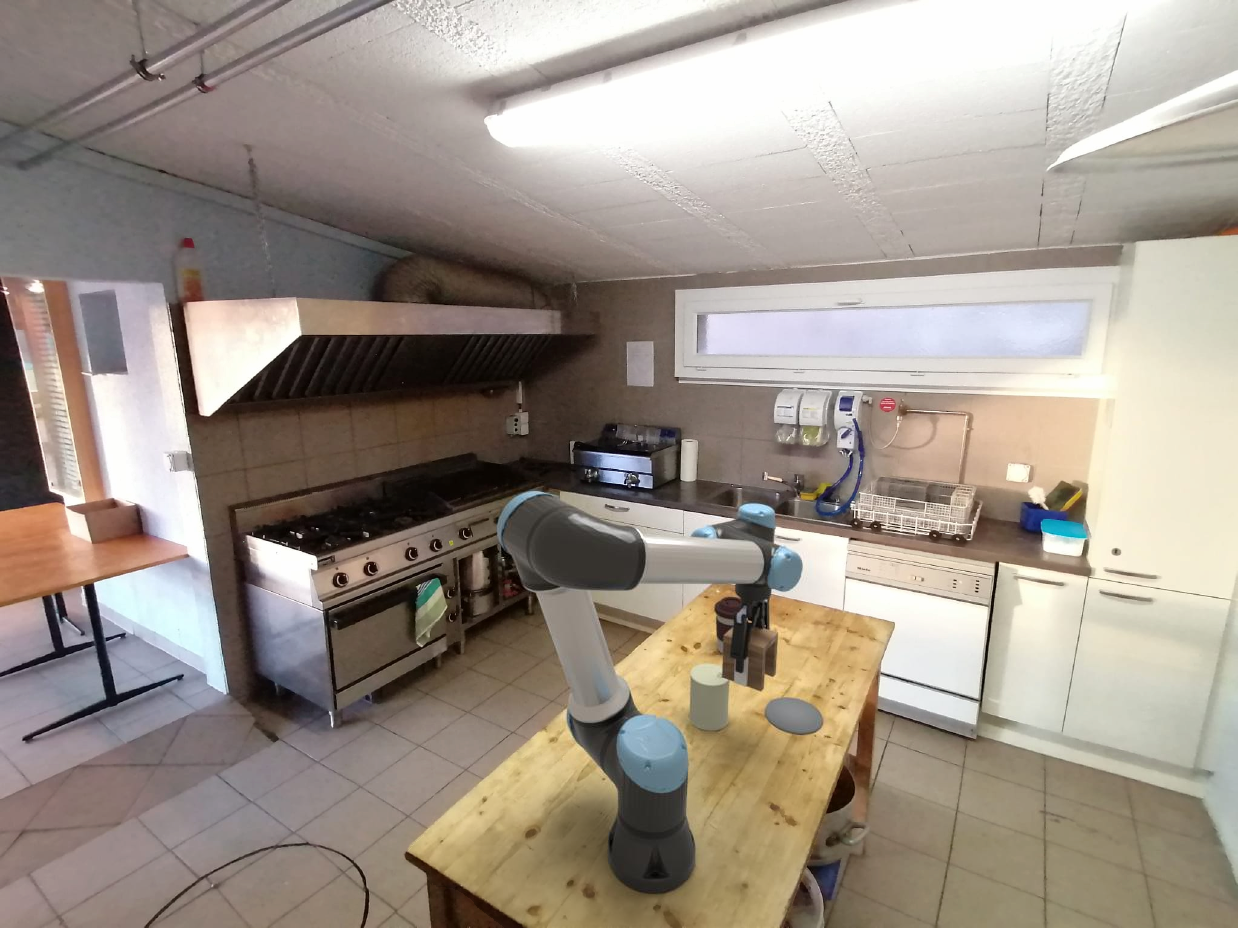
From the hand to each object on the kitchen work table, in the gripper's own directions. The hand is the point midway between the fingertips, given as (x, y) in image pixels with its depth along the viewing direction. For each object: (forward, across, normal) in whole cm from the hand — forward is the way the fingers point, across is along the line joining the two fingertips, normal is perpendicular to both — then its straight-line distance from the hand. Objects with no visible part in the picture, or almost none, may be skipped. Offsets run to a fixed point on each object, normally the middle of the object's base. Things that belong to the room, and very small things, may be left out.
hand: (749, 674), depth 129 cm
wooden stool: (0, 0, 0) cm, 0 cm away
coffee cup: (+16, +32, +19) cm, 40 cm away
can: (+16, +1, +10) cm, 18 cm away
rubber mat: (+16, +13, -6) cm, 21 cm away
